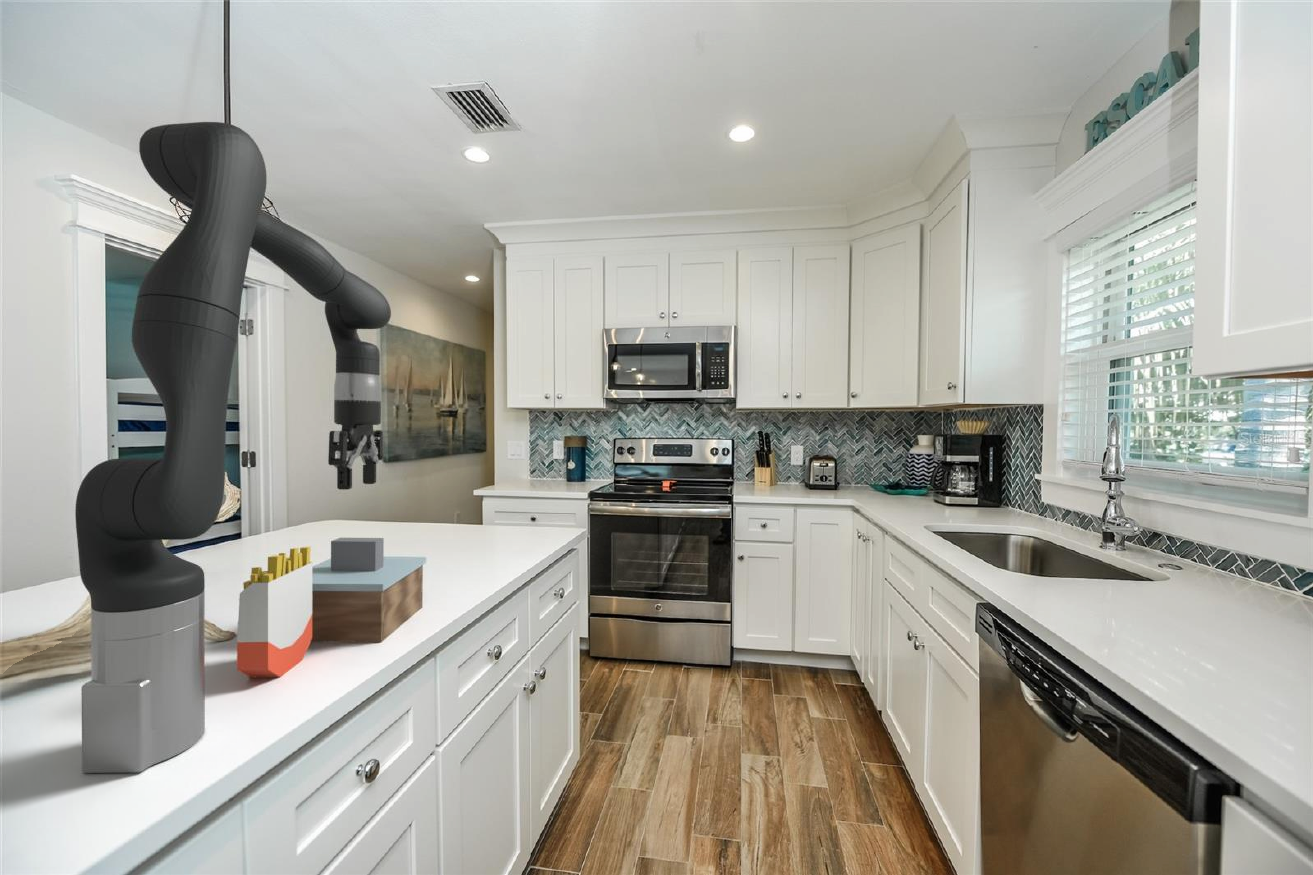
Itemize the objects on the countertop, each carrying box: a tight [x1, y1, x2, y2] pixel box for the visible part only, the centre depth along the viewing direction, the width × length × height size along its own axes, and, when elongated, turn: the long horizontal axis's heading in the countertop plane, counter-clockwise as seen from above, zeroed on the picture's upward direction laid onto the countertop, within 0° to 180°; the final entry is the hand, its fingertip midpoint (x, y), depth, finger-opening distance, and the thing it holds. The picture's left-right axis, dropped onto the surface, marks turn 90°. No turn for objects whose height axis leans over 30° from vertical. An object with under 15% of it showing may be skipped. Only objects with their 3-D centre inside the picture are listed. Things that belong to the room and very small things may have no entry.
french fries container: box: [236, 546, 313, 679], centre depth 78 cm, size 5×11×18 cm, turn 5°
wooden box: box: [310, 565, 424, 643], centre depth 96 cm, size 17×17×9 cm
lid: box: [312, 537, 427, 591], centre depth 96 cm, size 18×18×8 cm
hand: (357, 486), depth 96 cm, fingers open, 8 cm apart
